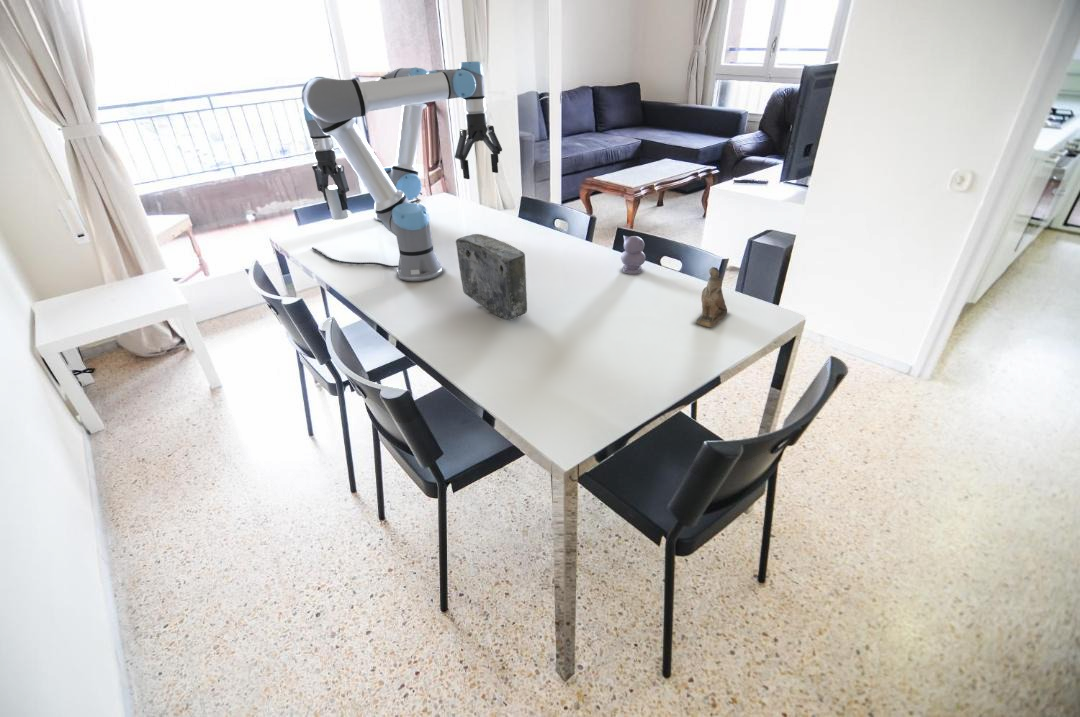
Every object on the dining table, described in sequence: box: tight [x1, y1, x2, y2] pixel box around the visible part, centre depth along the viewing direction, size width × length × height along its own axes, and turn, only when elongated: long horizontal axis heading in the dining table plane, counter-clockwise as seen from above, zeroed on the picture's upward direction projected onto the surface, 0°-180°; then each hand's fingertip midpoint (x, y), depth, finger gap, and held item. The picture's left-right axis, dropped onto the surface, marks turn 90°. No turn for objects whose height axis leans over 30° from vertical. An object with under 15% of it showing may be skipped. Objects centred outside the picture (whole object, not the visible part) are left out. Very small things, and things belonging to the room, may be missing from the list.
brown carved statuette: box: [695, 266, 728, 328], centre depth 135 cm, size 12×6×18 cm, turn 136°
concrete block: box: [455, 233, 528, 321], centre depth 143 cm, size 27×9×20 cm, turn 36°
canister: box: [325, 184, 349, 221], centre depth 204 cm, size 6×6×12 cm
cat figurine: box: [620, 234, 646, 275], centre depth 168 cm, size 9×8×12 cm
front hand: (481, 175), depth 186 cm, fingers open, 13 cm apart
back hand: (338, 209), depth 205 cm, fingers closed on canister, 6 cm apart
